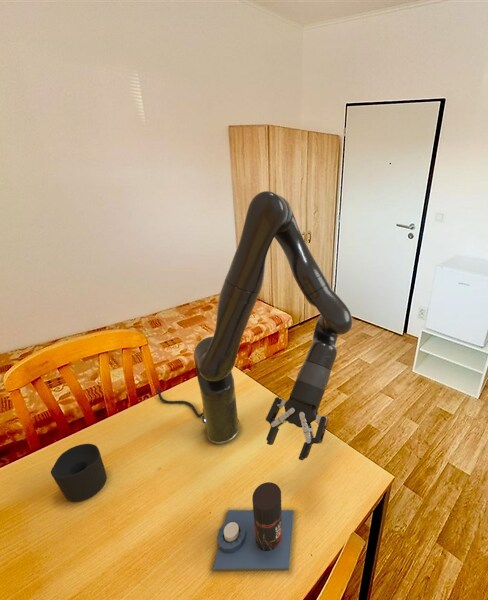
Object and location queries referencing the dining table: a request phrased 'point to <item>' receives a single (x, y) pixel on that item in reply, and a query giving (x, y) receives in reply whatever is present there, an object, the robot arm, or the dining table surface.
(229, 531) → the button
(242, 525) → the scale
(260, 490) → the deodorant
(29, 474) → the dining table surface
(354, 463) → the dining table surface
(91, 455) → the pen holder
